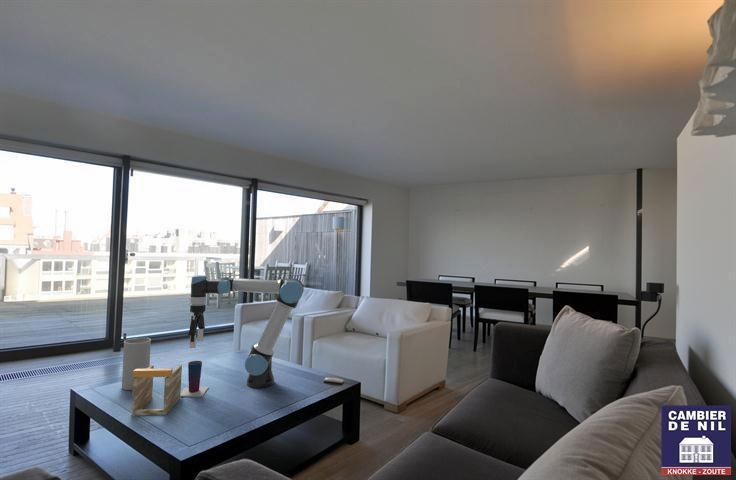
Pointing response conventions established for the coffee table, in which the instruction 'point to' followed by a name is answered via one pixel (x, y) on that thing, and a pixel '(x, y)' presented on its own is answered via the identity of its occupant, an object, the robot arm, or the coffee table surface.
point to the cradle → (144, 393)
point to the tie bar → (153, 372)
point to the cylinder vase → (134, 359)
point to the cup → (194, 375)
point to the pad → (200, 393)
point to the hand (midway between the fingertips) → (196, 344)
